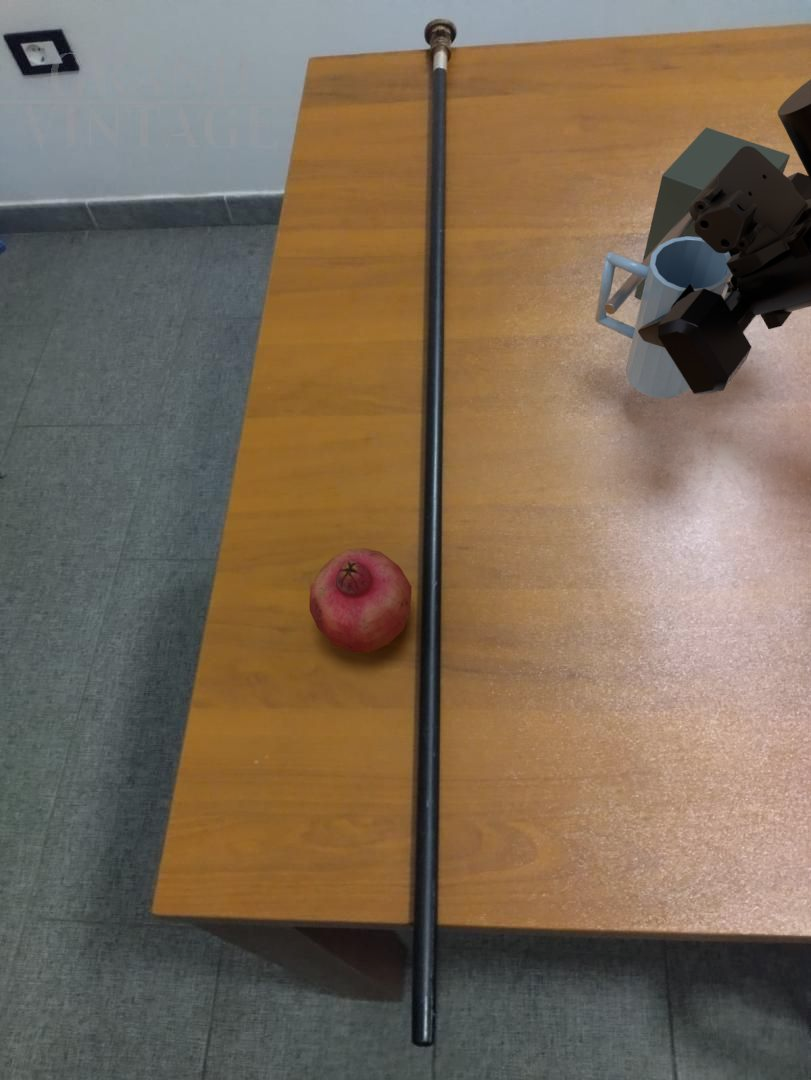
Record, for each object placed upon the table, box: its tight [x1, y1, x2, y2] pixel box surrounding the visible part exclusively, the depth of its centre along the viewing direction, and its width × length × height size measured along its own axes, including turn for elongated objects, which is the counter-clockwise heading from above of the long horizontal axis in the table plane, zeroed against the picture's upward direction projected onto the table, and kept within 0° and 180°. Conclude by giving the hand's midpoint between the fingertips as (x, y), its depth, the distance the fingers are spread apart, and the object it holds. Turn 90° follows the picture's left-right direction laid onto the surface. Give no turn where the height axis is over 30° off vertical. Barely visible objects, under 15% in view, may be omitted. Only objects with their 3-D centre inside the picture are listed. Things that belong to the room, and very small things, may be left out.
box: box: [604, 127, 791, 315], centre depth 69 cm, size 8×23×14 cm, turn 142°
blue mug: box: [594, 236, 732, 399], centre depth 62 cm, size 10×6×12 cm, turn 52°
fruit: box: [308, 547, 413, 653], centre depth 59 cm, size 8×8×10 cm
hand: (661, 310), depth 61 cm, fingers closed on blue mug, 6 cm apart
